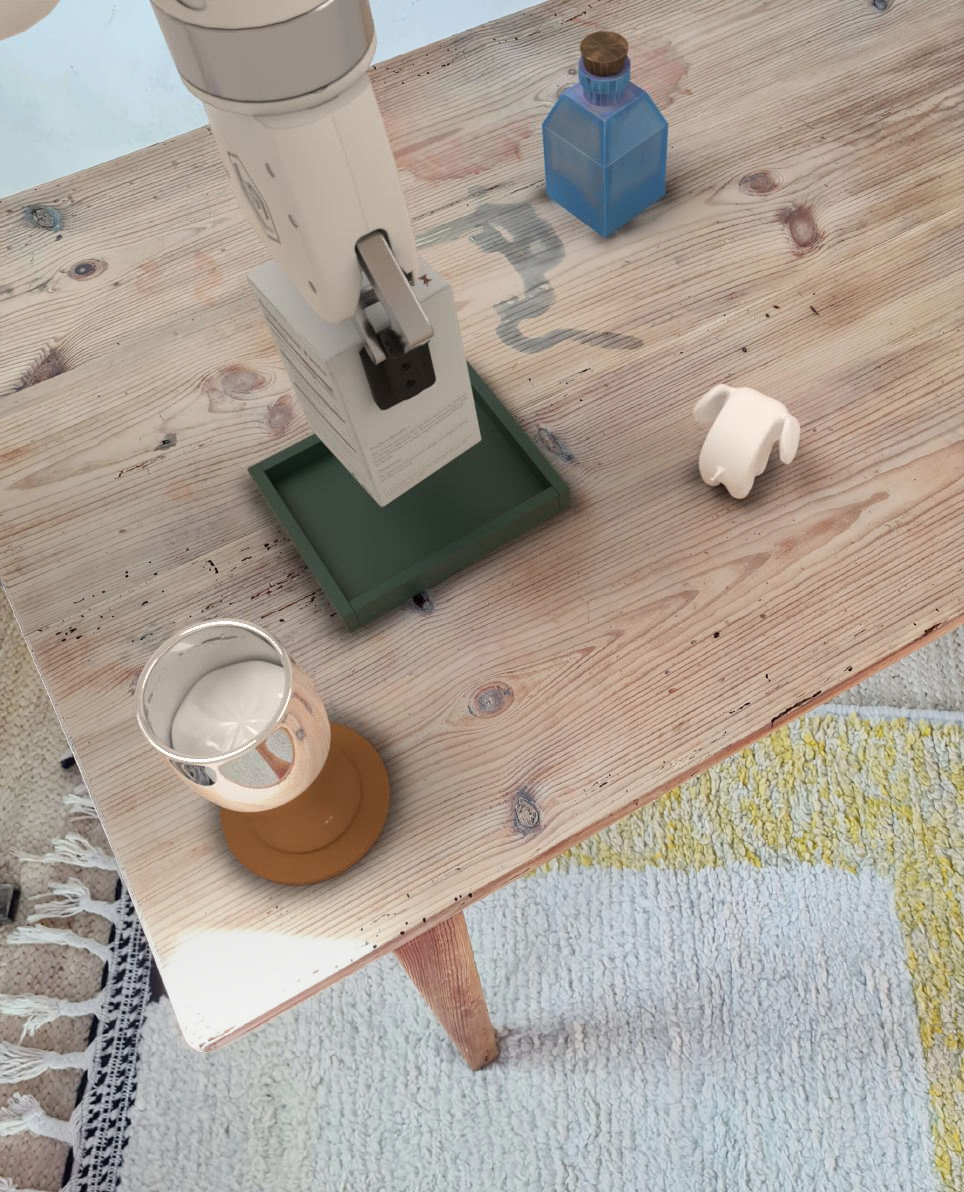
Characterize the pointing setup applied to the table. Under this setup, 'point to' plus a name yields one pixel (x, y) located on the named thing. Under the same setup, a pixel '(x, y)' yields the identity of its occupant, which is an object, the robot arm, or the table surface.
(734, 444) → the elephant figurine
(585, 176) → the perfume bottle
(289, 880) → the coaster
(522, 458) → the tray
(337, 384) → the white packaging box
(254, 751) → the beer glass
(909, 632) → the table surface
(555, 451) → the table surface
